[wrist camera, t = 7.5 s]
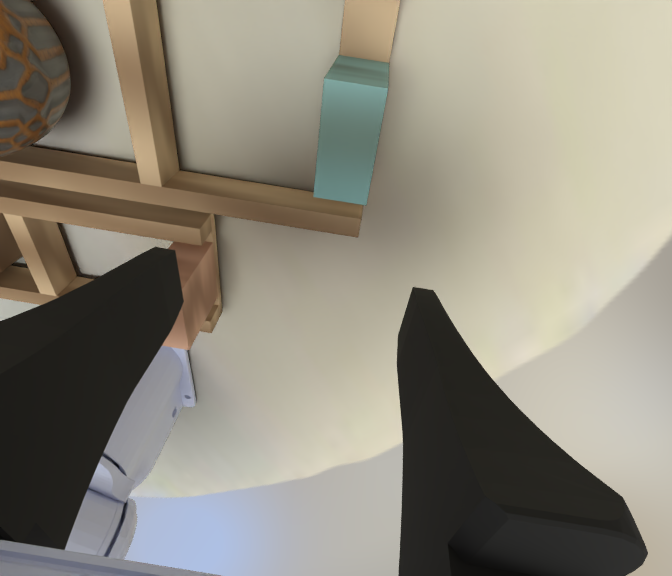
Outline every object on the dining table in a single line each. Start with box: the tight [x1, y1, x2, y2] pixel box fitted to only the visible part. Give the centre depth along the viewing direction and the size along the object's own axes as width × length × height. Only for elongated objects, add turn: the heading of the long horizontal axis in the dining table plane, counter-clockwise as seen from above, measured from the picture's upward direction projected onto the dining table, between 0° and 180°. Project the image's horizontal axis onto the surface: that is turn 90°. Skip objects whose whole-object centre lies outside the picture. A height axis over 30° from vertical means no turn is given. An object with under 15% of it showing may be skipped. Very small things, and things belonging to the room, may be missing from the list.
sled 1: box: [0, 0, 400, 237], centre depth 15 cm, size 10×20×5 cm, turn 83°
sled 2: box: [0, 179, 222, 350], centre depth 22 cm, size 8×20×5 cm, turn 83°
